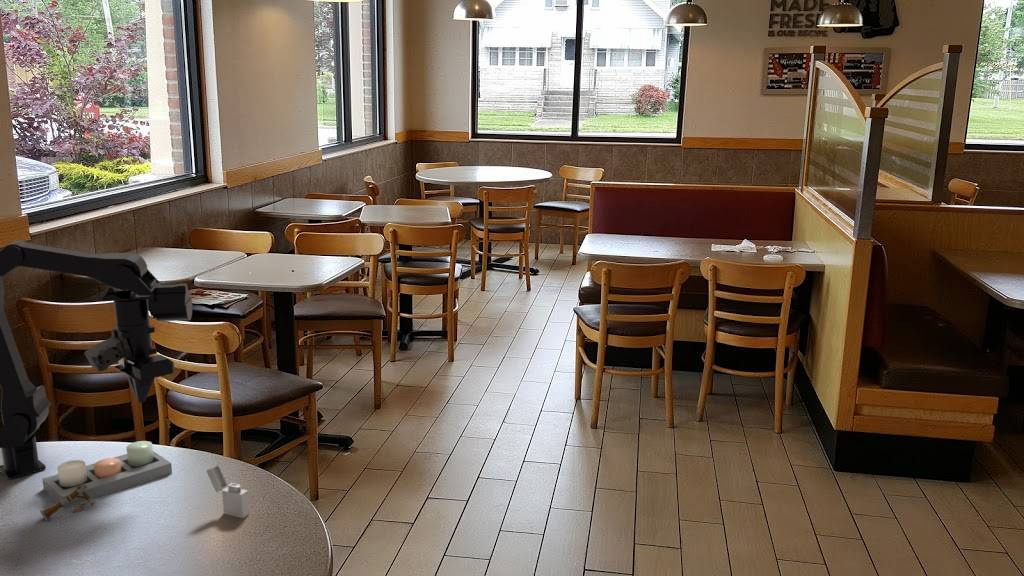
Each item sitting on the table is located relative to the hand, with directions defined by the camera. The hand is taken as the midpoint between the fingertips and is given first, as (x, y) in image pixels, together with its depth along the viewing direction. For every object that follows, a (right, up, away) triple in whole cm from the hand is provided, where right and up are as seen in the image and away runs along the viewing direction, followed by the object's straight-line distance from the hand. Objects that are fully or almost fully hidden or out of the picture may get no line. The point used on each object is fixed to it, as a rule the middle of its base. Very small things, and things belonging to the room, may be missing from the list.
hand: (141, 402), depth 165 cm
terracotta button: (-3, -13, -6) cm, 15 cm away
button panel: (-3, -14, -6) cm, 15 cm away
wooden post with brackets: (-5, -17, -17) cm, 25 cm away
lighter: (+22, -17, -17) cm, 32 cm away
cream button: (-8, -13, -10) cm, 18 cm away
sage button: (+1, -11, -2) cm, 11 cm away
